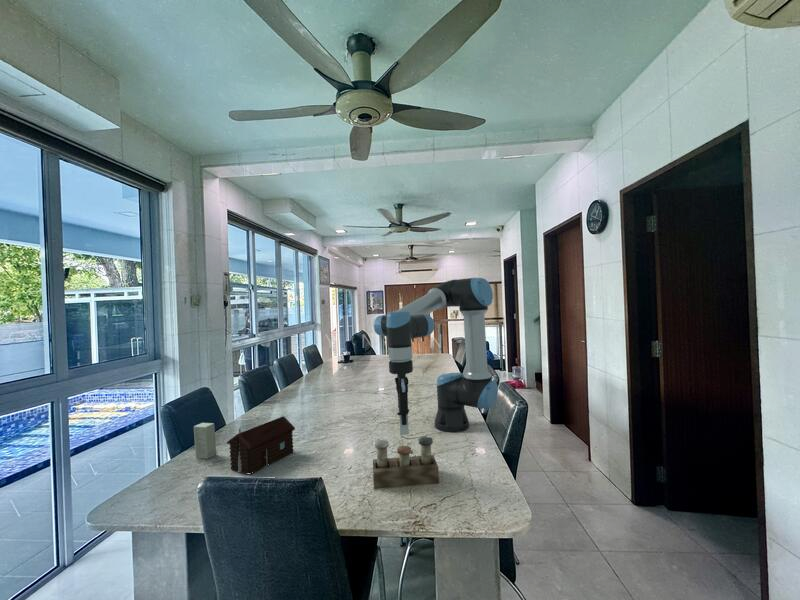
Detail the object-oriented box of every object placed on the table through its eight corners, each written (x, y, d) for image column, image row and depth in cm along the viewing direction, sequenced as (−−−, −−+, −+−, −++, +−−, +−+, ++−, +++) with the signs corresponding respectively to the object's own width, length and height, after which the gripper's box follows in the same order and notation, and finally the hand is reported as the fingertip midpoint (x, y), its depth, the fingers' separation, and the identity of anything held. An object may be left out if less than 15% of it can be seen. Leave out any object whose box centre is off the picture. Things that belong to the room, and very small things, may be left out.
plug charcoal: (432, 461, 118) (431, 436, 118) (434, 467, 114) (433, 441, 114) (418, 462, 118) (417, 437, 118) (420, 468, 113) (419, 442, 113)
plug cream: (389, 464, 117) (388, 439, 117) (390, 470, 113) (389, 445, 113) (375, 465, 117) (374, 440, 117) (375, 471, 112) (374, 446, 112)
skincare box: (216, 454, 140) (215, 423, 140) (207, 459, 136) (206, 427, 136) (203, 453, 142) (202, 422, 142) (194, 458, 138) (193, 426, 138)
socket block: (433, 469, 120) (433, 454, 120) (439, 483, 112) (438, 467, 112) (373, 474, 119) (372, 459, 119) (373, 488, 110) (373, 472, 110)
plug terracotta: (411, 470, 118) (410, 445, 118) (412, 476, 113) (411, 450, 113) (397, 471, 117) (396, 446, 117) (398, 477, 113) (397, 452, 113)
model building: (250, 476, 121) (248, 431, 121) (228, 470, 127) (226, 427, 127) (295, 452, 139) (294, 413, 139) (274, 447, 145) (273, 410, 145)
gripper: (387, 357, 121) (391, 427, 122) (389, 364, 108) (393, 442, 109) (410, 355, 122) (413, 425, 122) (414, 362, 109) (418, 440, 109)
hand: (404, 433), depth 116 cm, fingers closed
